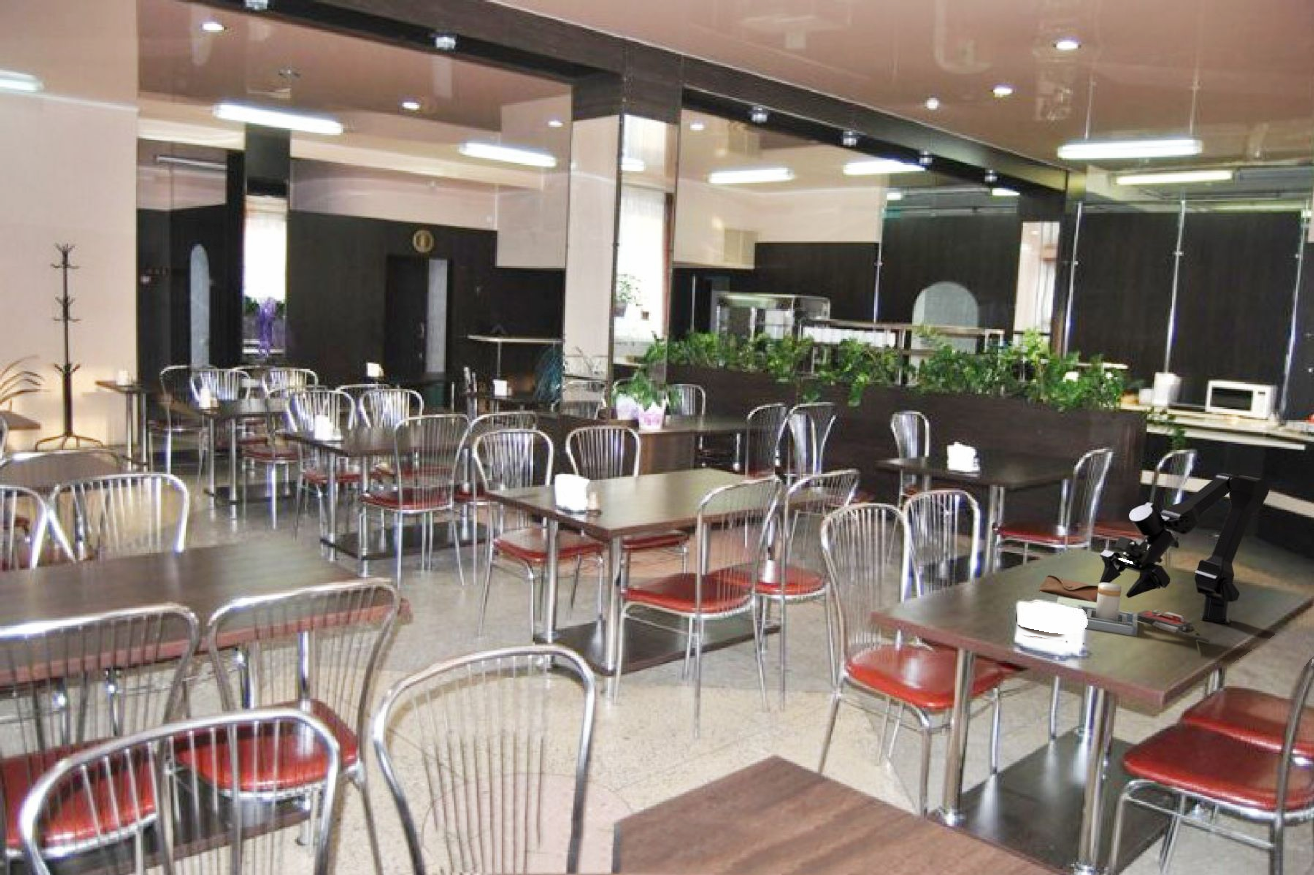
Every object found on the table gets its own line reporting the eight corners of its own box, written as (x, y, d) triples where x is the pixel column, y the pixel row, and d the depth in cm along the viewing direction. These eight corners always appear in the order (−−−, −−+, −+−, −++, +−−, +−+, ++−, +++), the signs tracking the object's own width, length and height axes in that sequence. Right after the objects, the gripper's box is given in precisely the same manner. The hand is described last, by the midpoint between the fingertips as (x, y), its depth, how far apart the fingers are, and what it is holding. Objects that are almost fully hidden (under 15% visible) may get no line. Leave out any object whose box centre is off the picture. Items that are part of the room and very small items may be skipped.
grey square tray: (1077, 616, 263) (1078, 604, 263) (1135, 625, 257) (1137, 613, 257) (1074, 630, 251) (1075, 618, 250) (1136, 640, 245) (1137, 628, 244)
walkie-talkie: (1126, 625, 259) (1206, 647, 243) (1128, 608, 258) (1208, 629, 242) (1143, 619, 264) (1223, 641, 248) (1145, 603, 263) (1225, 624, 248)
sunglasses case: (1033, 590, 287) (1040, 568, 289) (1041, 598, 292) (1048, 577, 294) (1098, 605, 275) (1104, 582, 276) (1104, 613, 280) (1111, 591, 281)
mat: (1058, 600, 278) (1058, 596, 278) (1101, 606, 273) (1101, 603, 273) (1055, 610, 268) (1055, 606, 268) (1100, 617, 263) (1100, 613, 263)
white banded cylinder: (1094, 619, 257) (1098, 581, 256) (1117, 622, 255) (1121, 584, 254) (1094, 624, 253) (1098, 586, 251) (1117, 628, 250) (1121, 589, 249)
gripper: (1109, 518, 262) (1071, 561, 259) (1166, 534, 244) (1125, 580, 242) (1130, 547, 265) (1092, 589, 263) (1187, 565, 248) (1147, 610, 245)
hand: (1113, 591), depth 253 cm, fingers open, 9 cm apart
